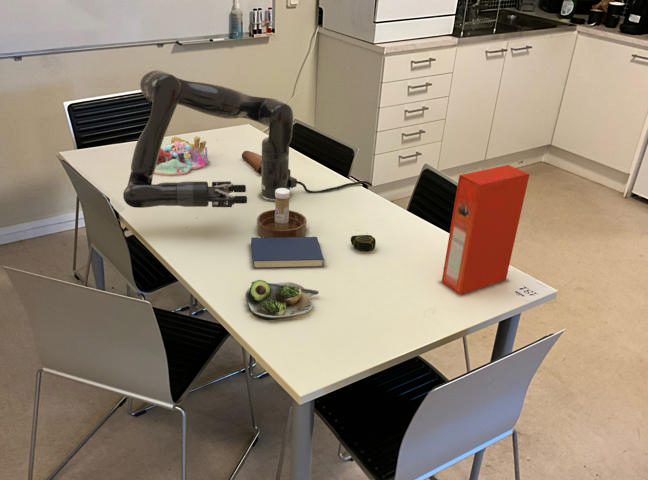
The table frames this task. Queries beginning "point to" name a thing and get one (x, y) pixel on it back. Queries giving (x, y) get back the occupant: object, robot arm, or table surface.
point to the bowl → (294, 225)
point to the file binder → (483, 227)
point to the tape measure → (363, 242)
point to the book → (286, 252)
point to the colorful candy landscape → (181, 157)
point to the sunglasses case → (253, 160)
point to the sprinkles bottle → (282, 208)
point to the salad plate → (278, 300)
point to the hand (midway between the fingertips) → (246, 193)
